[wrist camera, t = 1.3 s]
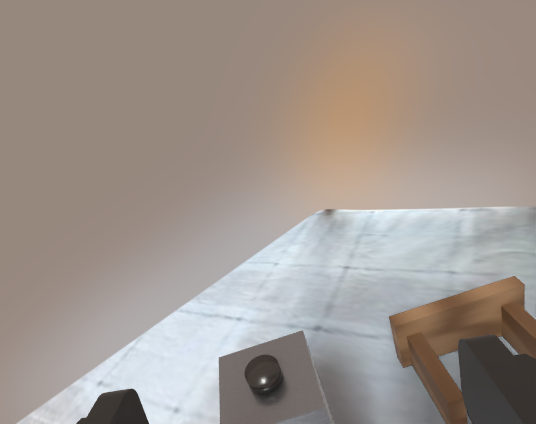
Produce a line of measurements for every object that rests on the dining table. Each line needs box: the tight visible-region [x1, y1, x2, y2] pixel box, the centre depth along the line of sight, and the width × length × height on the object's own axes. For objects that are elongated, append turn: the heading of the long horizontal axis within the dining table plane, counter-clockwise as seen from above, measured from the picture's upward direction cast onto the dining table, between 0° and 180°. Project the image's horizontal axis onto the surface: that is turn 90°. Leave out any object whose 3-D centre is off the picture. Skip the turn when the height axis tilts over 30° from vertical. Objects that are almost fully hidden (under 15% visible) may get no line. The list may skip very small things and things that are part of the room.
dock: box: [389, 276, 536, 424], centre depth 31 cm, size 11×8×5 cm
